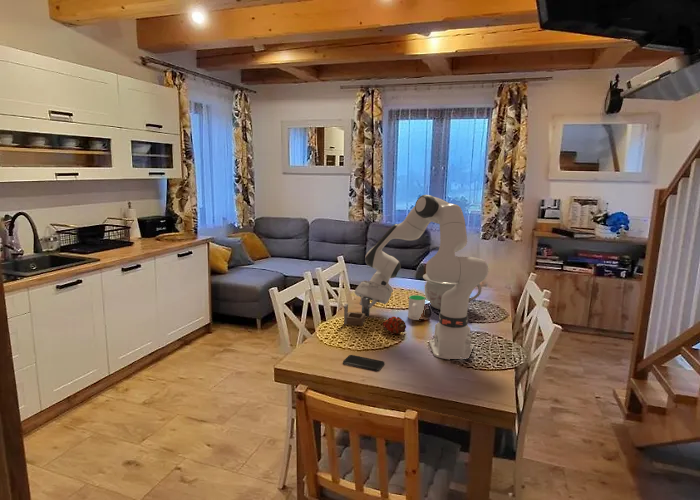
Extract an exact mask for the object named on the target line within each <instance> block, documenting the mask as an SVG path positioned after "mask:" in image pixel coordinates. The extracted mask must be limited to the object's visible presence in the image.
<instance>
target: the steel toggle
mask: <svg viewBox="0 0 700 500" xmlns="http://www.w3.org/2000/svg"><path fill="white" fill-rule="evenodd" d="M369 303H371V300H370V298H367V297H364V298H362V305H361V313H365V318H369V317H370V313H371V312H370V311H371V310H370V309H371V308H369V307H368V304H369Z"/></svg>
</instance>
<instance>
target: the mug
mask: <svg viewBox="0 0 700 500" xmlns="http://www.w3.org/2000/svg"><path fill="white" fill-rule="evenodd" d="M424 306H425V307H426V296H423V295H418V294H415V295H414V294H412V295H410V296H408V309H407V310H408V313H407V317H408V319H410V320H412V321H420V320H419V318H420V317H421V314H422V313H423V310H424ZM424 311H425V310H424Z"/></svg>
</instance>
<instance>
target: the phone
mask: <svg viewBox="0 0 700 500" xmlns="http://www.w3.org/2000/svg"><path fill="white" fill-rule="evenodd" d="M342 364H343V365H346V366H350V367H353V368H354V367H356V368H360V369H364V370H369V371H372V372H379V371H381V370H382V368H383V367H384V366H385V361H384V360H378V359H374V358H369V357H364V356H359V355H354V354H349V355H348V356H347V357H345V359H343V360H342Z"/></svg>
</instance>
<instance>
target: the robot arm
mask: <svg viewBox="0 0 700 500" xmlns="http://www.w3.org/2000/svg"><path fill="white" fill-rule="evenodd" d="M430 223H434V224H439V234H440V235H439V236H440V241H439V248H438V251H437V252H436V253H435V254H434V255H433V256H432V257H430V258H429V260H428V261H427V262H426V265H425V274H427V276H428V278H429V279H430V280H432V281H436V282H441V283H456V285H455V286H454V287H453V288H452V289H450V290H448V291H446V292H445V293H444V294H443V295H442V298H441V310H440V312H439V314H438V322H437V323H435V324H434V334H433V339H429V341H428V342H429V346H430V348H431V352H432V354H433V356H434V357H436V358H440V359H443V360H444V359H445V360H450V359H463V358H469V356H470V354H471V355H472V353H473V351H472V349H473V347H474V348H475V345H474V344H473V343H472V339H471V337H472V333H471V327H470V326H469V325H468V322H469V315H468V309H469V303H470V302H469V298H471V294H472V293H473V291H474V290H475V288H477V285H478V284H481V283H482V282H484V281H485V280H486V278H487V277H488V275H489V266H488V264H487V262H486V260H485V259H483V258H480V257H479V258H478V257H475V256H456V252H459V251H461V250H463V249H464V248H465V247H466V246H467V245H468V244H467V243H468V235H467V228H466V220H465V216H464V213H463V210H462V208H461V206H459V204H455V203H450V202H448V201H446V200H444V199H442V198H440V197H438V196H437V197H436V196H433V195H431V194H422V195H420V196H419V197H418V198H417V199H416V202H415V205H414V207H412V209H411V210H410V211H409V212H408V214H407V216H406V217H405V218H404V220H403V221H402V222H400V223H395V224H393V225H392V226H391V227H390V228H389V229H388V230H387V231H386V232H385V233H384V234H383V236H382V237H380V239H379V240H378V241H377V243H375V244H374V246H373V247H371V248H370V249H369V250H368V251H367V252H366V254H365V257H364V262H365V264H366V265H367V266H368V267H371V268H372V269H374V270H376V272H375V273H374V274H373V275H372V276H371V278H370V280H369V281H367V280H363V281H361V282H360V283H359V285H357V287H356V288H355V290H354V294H355V295H356V296H357V297H359V298H360V302H359V305H360V306H362V298H364V297H367V298H370V303H369V304H368V307H369V308H370V309H372V307H373V306H375V305H376V304H377V303H380V304H383V305H386V304H387V303H388V302H389V301H390V298H391V297H392V293H393V292H394V289H393V287H392V286H391V285H390V279H394V278H396V277H397V274H398V273H399V271H400V270H401V268H402V266H401V262H400V260H398V259H397V258H396V257H395V256H393V255H389V254H388V253H386V252H385V251H383V249H384V247H385V246H386V245H388V243H389V242H390V241H391V240H394V239H398V240H403V241H416V240H418V239H420V238H421V236H422V235H423V234H424V233H425V231H426V229H427V228H428V226H429V224H430ZM468 302H469V303H468ZM470 346H472V347H470ZM473 350H474V349H473ZM471 352H472V353H471ZM460 357H463V358H460ZM470 357H471V356H470ZM469 359H470V358H469Z"/></svg>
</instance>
